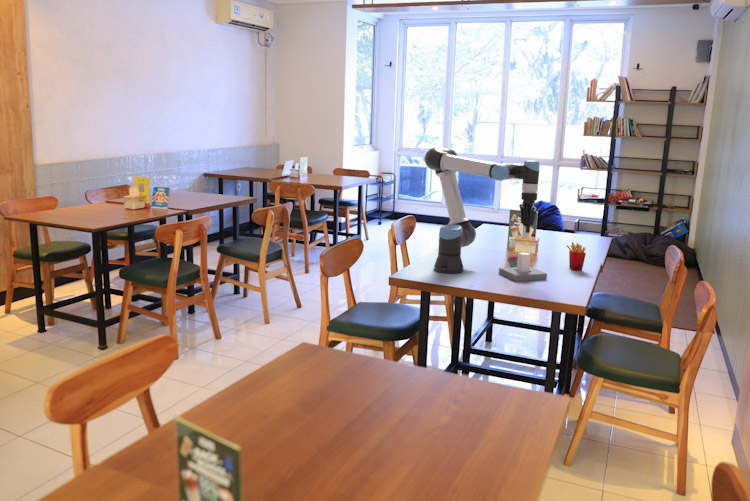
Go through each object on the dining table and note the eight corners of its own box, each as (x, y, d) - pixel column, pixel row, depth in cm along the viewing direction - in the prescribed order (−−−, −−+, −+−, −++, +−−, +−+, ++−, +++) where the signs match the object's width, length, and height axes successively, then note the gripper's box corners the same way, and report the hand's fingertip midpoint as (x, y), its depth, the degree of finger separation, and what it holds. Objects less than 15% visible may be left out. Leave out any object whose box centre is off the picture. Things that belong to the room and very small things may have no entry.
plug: (520, 277, 323) (522, 254, 321) (516, 275, 327) (518, 252, 325) (528, 277, 325) (530, 254, 322) (523, 275, 329) (525, 252, 326)
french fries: (578, 268, 349) (581, 241, 346) (585, 271, 342) (588, 244, 338) (563, 268, 348) (566, 241, 345) (570, 271, 340) (573, 244, 337)
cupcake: (513, 270, 338) (515, 248, 335) (503, 267, 345) (505, 245, 343) (526, 269, 342) (528, 247, 339) (515, 266, 349) (517, 244, 347)
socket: (515, 281, 316) (515, 275, 315) (498, 273, 330) (499, 267, 330) (546, 279, 322) (547, 273, 321) (528, 271, 336) (529, 266, 336)
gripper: (543, 193, 312) (539, 240, 317) (528, 190, 324) (525, 236, 329) (530, 193, 310) (526, 241, 315) (516, 190, 322) (512, 236, 327)
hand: (525, 238), depth 322 cm, fingers closed
